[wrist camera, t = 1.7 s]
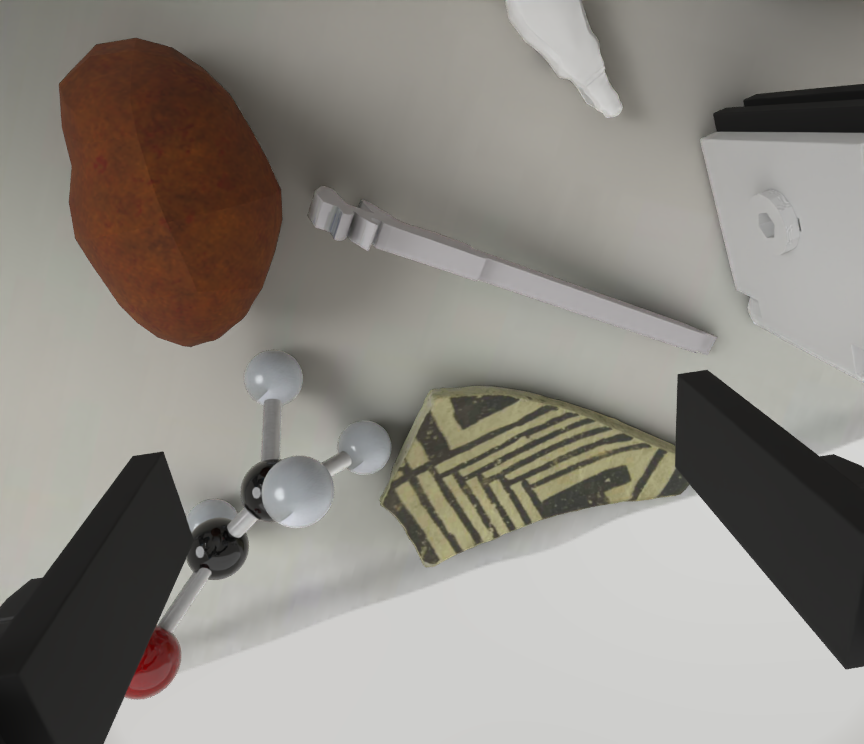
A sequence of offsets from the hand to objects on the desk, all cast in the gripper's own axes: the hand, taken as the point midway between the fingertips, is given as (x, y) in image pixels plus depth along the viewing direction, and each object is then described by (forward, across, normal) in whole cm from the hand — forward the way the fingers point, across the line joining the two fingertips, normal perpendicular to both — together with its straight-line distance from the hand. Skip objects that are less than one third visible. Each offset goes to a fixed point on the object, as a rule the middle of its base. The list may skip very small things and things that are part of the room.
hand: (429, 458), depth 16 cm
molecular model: (+15, -8, -7) cm, 18 cm away
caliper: (+15, +6, 0) cm, 16 cm away
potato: (+15, -9, +6) cm, 18 cm away
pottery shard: (+14, +5, -11) cm, 19 cm away
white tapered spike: (+15, +6, +13) cm, 21 cm away
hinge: (+14, +18, 0) cm, 23 cm away
